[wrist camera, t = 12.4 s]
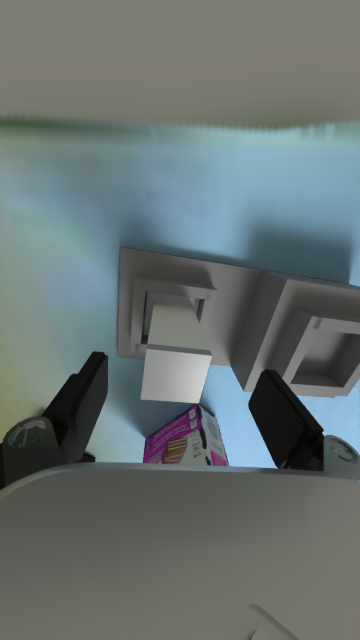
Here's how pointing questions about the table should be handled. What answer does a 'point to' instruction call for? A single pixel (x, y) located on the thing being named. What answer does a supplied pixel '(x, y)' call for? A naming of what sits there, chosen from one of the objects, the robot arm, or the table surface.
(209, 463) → the candy bar box
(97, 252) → the table surface
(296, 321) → the stepped socket base
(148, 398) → the plug
